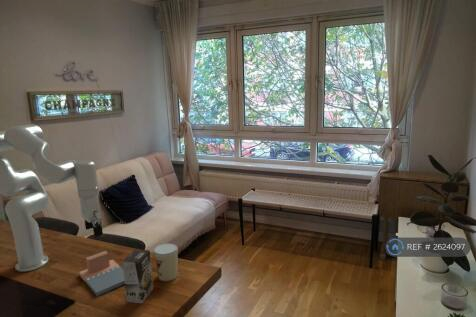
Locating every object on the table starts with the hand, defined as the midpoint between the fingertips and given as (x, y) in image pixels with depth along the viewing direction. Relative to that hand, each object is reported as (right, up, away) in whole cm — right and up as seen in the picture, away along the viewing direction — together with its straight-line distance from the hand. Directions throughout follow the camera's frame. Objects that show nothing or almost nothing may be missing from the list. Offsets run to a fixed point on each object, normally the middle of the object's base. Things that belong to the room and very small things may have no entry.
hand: (94, 231), depth 134 cm
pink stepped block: (+1, -18, +4) cm, 18 cm away
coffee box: (+23, -21, -13) cm, 33 cm away
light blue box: (+8, -19, -4) cm, 21 cm away
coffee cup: (+30, -18, -1) cm, 35 cm away
